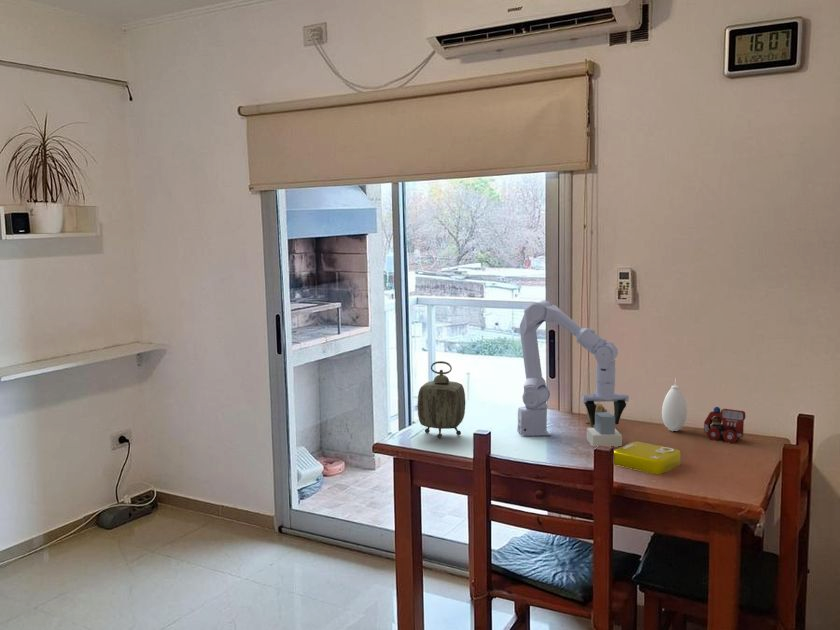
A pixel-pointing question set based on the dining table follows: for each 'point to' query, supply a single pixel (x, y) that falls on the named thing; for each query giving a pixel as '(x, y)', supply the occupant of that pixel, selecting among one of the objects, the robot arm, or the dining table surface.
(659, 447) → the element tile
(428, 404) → the tabletop clock
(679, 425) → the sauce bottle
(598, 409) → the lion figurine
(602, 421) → the grey block
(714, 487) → the dining table surface
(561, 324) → the robot arm
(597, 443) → the base block
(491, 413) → the dining table surface
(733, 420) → the toy fire truck
